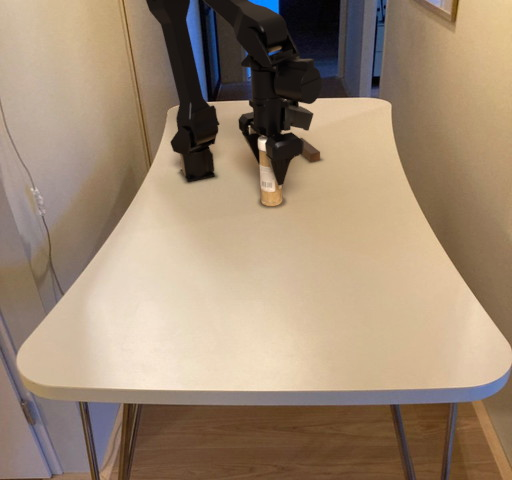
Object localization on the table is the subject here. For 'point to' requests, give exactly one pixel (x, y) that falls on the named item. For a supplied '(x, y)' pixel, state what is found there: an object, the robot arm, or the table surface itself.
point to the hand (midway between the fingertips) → (271, 176)
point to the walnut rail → (310, 152)
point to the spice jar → (268, 178)
